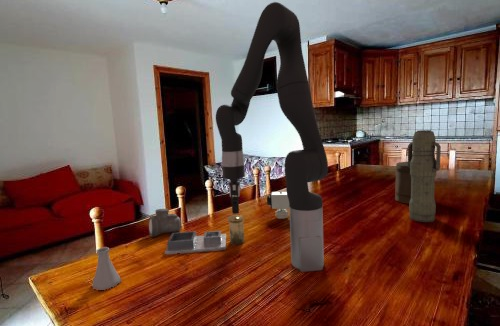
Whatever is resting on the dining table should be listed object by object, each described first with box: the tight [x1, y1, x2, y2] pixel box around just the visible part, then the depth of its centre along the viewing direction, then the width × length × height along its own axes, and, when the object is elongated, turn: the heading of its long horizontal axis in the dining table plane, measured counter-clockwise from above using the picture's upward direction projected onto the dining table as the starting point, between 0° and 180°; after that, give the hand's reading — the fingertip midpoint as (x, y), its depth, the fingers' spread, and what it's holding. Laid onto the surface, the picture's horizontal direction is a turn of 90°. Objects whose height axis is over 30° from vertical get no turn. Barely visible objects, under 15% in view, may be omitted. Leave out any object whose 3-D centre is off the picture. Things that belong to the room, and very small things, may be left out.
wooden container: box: [394, 161, 411, 205], centre depth 140 cm, size 15×15×22 cm
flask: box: [92, 246, 122, 291], centre depth 79 cm, size 7×7×10 cm
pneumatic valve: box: [266, 190, 289, 220], centre depth 126 cm, size 6×12×12 cm, turn 78°
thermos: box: [407, 129, 442, 223], centre depth 114 cm, size 9×12×35 cm
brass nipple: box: [227, 214, 245, 246], centre depth 102 cm, size 6×6×9 cm
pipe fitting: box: [148, 208, 182, 238], centre depth 115 cm, size 12×8×10 cm
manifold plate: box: [164, 230, 227, 255], centre depth 102 cm, size 12×20×4 cm, turn 94°
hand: (235, 209), depth 102 cm, fingers open, 8 cm apart
